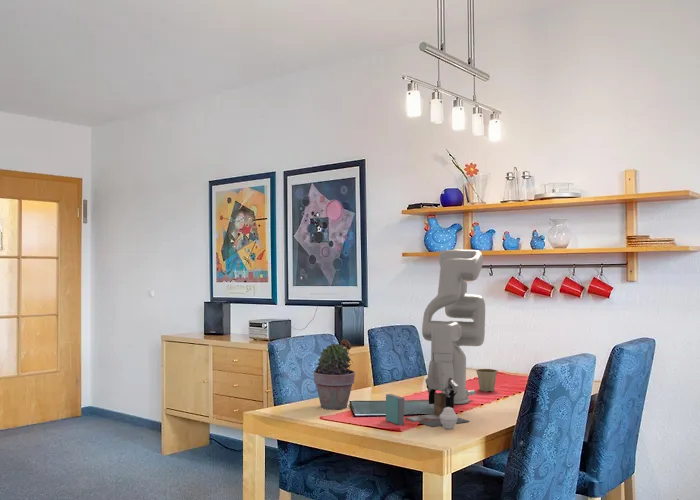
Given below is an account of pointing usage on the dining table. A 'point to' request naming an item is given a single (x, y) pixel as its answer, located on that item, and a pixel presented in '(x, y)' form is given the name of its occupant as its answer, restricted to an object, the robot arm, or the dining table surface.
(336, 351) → the potted plant
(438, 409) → the turner
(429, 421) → the mat
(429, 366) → the robot arm
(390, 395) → the tile
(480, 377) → the flower pot
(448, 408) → the muffin
